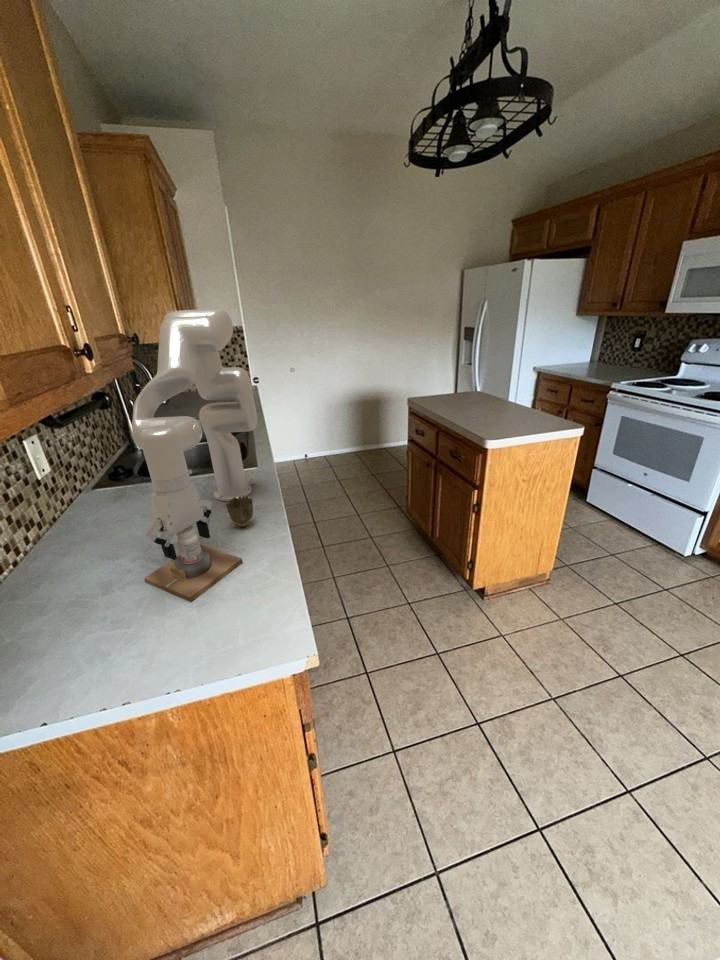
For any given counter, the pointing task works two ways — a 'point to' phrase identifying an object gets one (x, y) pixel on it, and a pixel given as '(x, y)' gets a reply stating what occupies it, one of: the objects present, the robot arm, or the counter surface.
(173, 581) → the board
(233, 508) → the dark rounded piece
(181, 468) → the robot arm
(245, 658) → the counter surface
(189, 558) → the pill bottle
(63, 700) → the counter surface
